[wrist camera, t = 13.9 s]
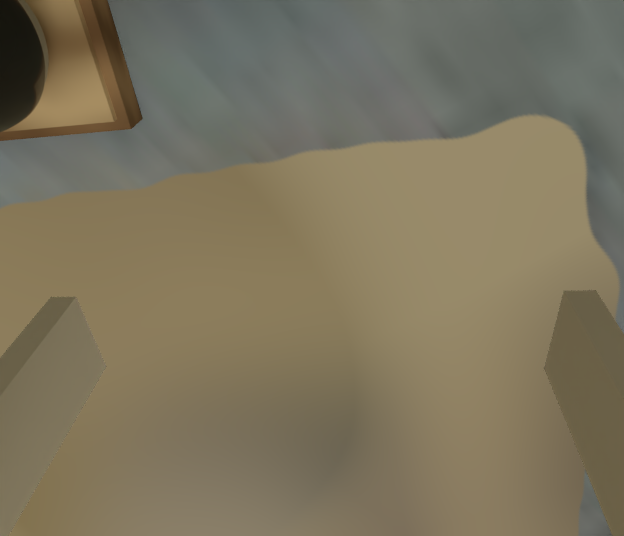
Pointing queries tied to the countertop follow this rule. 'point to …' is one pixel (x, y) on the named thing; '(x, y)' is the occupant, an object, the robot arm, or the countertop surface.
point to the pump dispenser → (20, 62)
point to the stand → (80, 73)
